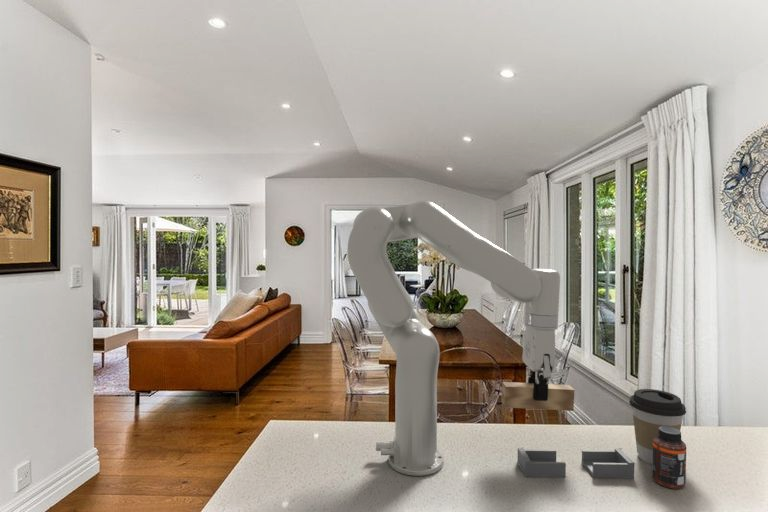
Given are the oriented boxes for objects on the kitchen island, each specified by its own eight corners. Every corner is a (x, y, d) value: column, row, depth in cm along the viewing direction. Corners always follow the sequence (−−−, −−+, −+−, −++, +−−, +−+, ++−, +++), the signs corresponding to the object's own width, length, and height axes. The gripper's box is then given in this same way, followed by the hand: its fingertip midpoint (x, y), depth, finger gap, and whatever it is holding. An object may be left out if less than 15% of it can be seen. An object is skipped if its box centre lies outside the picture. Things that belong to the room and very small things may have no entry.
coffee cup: (696, 471, 98) (699, 404, 97) (645, 471, 98) (647, 405, 97) (664, 447, 109) (665, 387, 109) (618, 447, 109) (619, 387, 109)
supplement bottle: (690, 492, 90) (692, 437, 90) (658, 488, 91) (660, 434, 91) (677, 476, 96) (679, 425, 96) (647, 473, 97) (648, 422, 97)
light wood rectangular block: (504, 407, 105) (505, 386, 105) (501, 401, 108) (502, 381, 108) (573, 410, 104) (574, 389, 104) (567, 405, 108) (568, 384, 107)
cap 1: (525, 476, 96) (525, 461, 96) (517, 462, 102) (517, 447, 102) (565, 477, 96) (565, 461, 96) (555, 462, 102) (555, 448, 102)
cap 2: (619, 463, 101) (620, 448, 101) (634, 478, 95) (634, 462, 95) (581, 462, 102) (581, 448, 102) (593, 477, 96) (593, 462, 95)
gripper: (515, 314, 114) (512, 384, 115) (535, 327, 97) (532, 409, 98) (545, 315, 114) (541, 386, 114) (570, 328, 97) (566, 411, 98)
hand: (537, 396), depth 106 cm, fingers closed on light wood rectangular block, 3 cm apart
